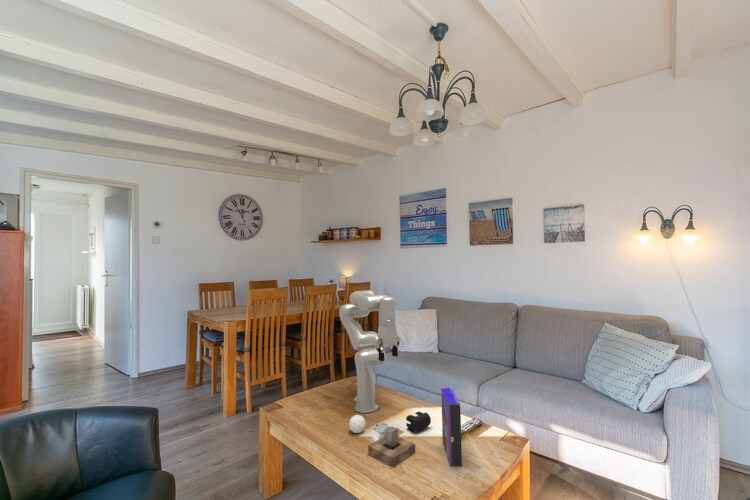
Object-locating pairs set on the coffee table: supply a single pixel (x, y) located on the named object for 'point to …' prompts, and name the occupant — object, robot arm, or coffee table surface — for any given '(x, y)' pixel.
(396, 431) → the grey rectangular block
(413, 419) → the end cap
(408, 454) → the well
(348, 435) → the coffee table surface
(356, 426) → the geometric ball
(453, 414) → the cereal box
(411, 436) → the coffee table surface
